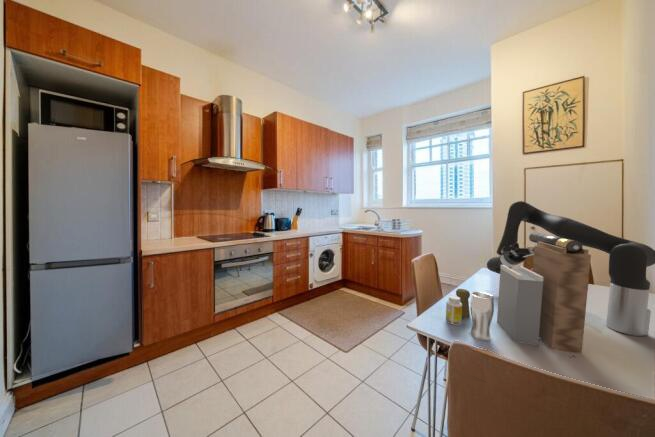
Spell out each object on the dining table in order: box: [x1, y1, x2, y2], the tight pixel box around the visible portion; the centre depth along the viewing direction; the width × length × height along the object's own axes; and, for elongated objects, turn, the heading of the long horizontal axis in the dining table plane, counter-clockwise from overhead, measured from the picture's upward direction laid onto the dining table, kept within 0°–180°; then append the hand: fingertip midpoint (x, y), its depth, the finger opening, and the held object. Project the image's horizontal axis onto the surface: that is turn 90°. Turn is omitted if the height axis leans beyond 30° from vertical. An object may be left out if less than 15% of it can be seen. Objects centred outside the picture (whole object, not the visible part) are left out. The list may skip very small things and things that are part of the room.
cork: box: [455, 288, 471, 319], centre depth 102 cm, size 6×6×11 cm
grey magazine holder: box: [496, 265, 543, 346], centre depth 88 cm, size 7×14×24 cm, turn 165°
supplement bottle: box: [445, 295, 463, 326], centre depth 96 cm, size 6×6×10 cm
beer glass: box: [470, 291, 495, 341], centre depth 86 cm, size 7×7×15 cm
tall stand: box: [532, 242, 592, 354], centre depth 84 cm, size 8×14×34 cm, turn 165°
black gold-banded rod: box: [528, 232, 584, 254], centre depth 86 cm, size 23×4×4 cm, turn 165°
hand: (529, 245), depth 101 cm, fingers open, 8 cm apart
